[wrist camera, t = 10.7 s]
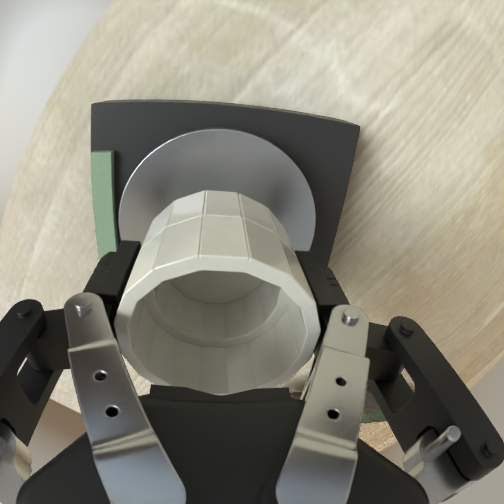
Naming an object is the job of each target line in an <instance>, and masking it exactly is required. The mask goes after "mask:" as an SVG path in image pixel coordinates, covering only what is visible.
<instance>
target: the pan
mask: <svg viewBox="0 0 504 504" xmlns="http://www.w3.org/2000/svg"><path fill="white" fill-rule="evenodd" d="M204 190H205V191H207V190H210V191H225V192H237V193H238V194H242V195H245V196H247V197H249V198H251V199H253V200H255V201H257V202H259V203H261V204H263V205H265V206H266V207H267V208H269V210H270V211H271V212H272V213H273V214H274V216H275V217H276V218H277V219H278V220H279V222H280V223H281V224H282V225H283V226H284V228H285V230H286V233H287V235H288V237H289V240H290V242H291V244H292V247H293V249H294V251H295V250H298V251H309V249H310V247H311V244H312V240H313V237H314V231H315V220H316V213H315V205H314V200H313V196H312V193H311V190H310V187H309V185H308V183H307V181H306V179H305V177H304V175H303V174H302V172H301V171H300V169H299V168H298V167H297V165H296V164H295V163H294V162H293V161H292V160H291V158H290V157H289V156H288V155H287V154H286V153H285V152H283V151H282V150H281V149H280V148H279V147H278V146H276V145H275V144H273V143H271V142H270V141H268V140H267V139H265V138H263V137H261V136H258V135H256V134H254V133H251V132H248V131H244V130H241V129H236V128H229V127H207V128H199V129H194V130H191V131H187V132H184V133H181V134H179V135H177V136H174V137H172V138H170V139H168V140H167V141H165V142H163V143H162V144H160V145H159V146H158V147H156V148H155V149H154V150H153V151H151V152H150V153H149V154H148V155H147V156H146V157H145V158H144V159H143V161H142V162H141V163H140V164H139V165H138V166H137V167H136V169H135V170H134V172H133V173H132V175H131V176H130V178H129V180H128V182H127V184H126V186H125V189H124V191H123V195H122V198H121V201H120V208H119V230H120V237H121V240H131V241H140V242H141V247H142V244H143V242H144V240H145V237H146V235H147V232H148V230H149V228H150V225H151V223H152V221H153V220H154V218H155V217H157V216H158V215H159V214H160V213H161V212H162V211H163V210H164V209H165V208H167V207H168V206H169V205H170V204H171V203H172V202H173V201H176V200H177V199H180V198H183V197H186V196H189V195H192V194H195V193H198V192H201V191H204Z"/></svg>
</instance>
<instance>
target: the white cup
mask: <svg viewBox="0 0 504 504" xmlns="http://www.w3.org/2000/svg"><path fill="white" fill-rule="evenodd" d="M114 327H115V332H116V336H117V341H118V345H119V349H120V351H121V353H122V354H123V356H124V357H125V358H126V359H127V361H128V362H129V363H130V364H131V366H132V367H133V368H134V369H135V371H136V372H137V373H138V374H139V375H141V376H142V377H144V378H145V379H147V380H149V381H150V382H152V383H154V384H155V385H164V386H178V387H187V388H191V389H194V390H198V391H202V392H206V393H210V394H215V395H221V396H222V395H228V394H233V393H238V392H242V391H247V390H251V389H256V388H274V387H276V386H278V385H280V384H282V383H284V382H286V381H287V380H289V379H290V378H292V377H293V376H294V375H295V374H296V373H297V372H298V371H299V370H300V369H301V368H302V367H303V366H304V365H305V364H306V363H307V362H308V361H309V360H310V358H311V357H312V354H313V352H314V349H315V346H316V344H317V341H318V338H319V336H320V333H321V327H320V322H319V316H318V311H317V306H316V302H315V299H314V297H313V294H312V292H311V289H310V287H309V285H308V282H307V280H306V277H305V275H304V272H303V270H302V268H301V265H300V263H299V261H298V259H297V256H296V254H295V251H294V249H293V247H292V244H291V242H290V240H289V237H288V235H287V233H286V230H285V228H284V226H283V225H282V224H281V223H280V222H279V220H278V219H277V218H276V217H275V216H274V214H273V213H272V212H271V211H270V210H269V208H267V207H266V206H265V205H263V204H261V203H259V202H257V201H255V200H253V199H251V198H249V197H247V196H245V195H242V194H238V193H237V192H225V191H210V190H207V191H205V190H204V191H201V192H198V193H195V194H192V195H189V196H186V197H183V198H180V199H177V200H176V201H173V202H172V203H171V204H170V205H169V206H168V207H167V208H165V209H164V210H163V211H162V212H161V213H160V214H159V215H158V216H157V217H155V218H154V220H153V221H152V223H151V225H150V228H149V230H148V232H147V235H146V237H145V240H144V242H143V244H142V247H141V249H140V252H139V254H138V257H137V259H136V262H135V264H134V267H133V269H132V272H131V274H130V277H129V280H128V282H127V285H126V288H125V290H124V293H123V296H122V299H121V302H120V304H119V307H118V310H117V313H116V316H115V319H114Z"/></svg>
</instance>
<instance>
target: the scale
mask: <svg viewBox="0 0 504 504" xmlns="http://www.w3.org/2000/svg"><path fill="white" fill-rule="evenodd" d="M207 127H229V128H236V129H241V130H244V131H248V132H251V133H254V134H256V135H258V136H261V137H263V138H265V139H267V140H268V141H270V142H271V143H273V144H275V145H276V146H278V147H279V148H280V149H281V150H282V151H283V152H285V153H286V154H287V155H288V156H289V157H290V158H291V160H292V161H293V162H294V163H295V164H296V165H297V167H298V168H299V169H300V171H301V172H302V174H303V175H304V177H305V179H306V181H307V183H308V185H309V187H310V190H311V193H312V196H313V200H314V205H315V213H316V220H315V231H314V237H313V240H312V244H311V247H310V249H309V251H312V252H313V253H314V255H315V257H316V259H317V261H318V263H322V264H325V265H326V266H327V265H328V261H329V258H330V254H331V251H332V247H333V243H334V239H335V236H336V232H337V228H338V224H339V220H340V216H341V212H342V208H343V204H344V200H345V196H346V192H347V187H348V183H349V179H350V174H351V170H352V165H353V161H354V156H355V151H356V146H357V142H358V137H359V132H360V126H358V125H356V124H353V123H350V122H347V121H344V120H340V119H335V118H330V117H325V116H320V115H314V114H309V113H303V112H297V111H290V110H284V109H277V108H269V107H261V106H253V105H243V104H233V103H221V102H207V101H189V100H112V101H104V102H99V103H94V104H92V105H91V178H92V195H93V208H94V219H95V228H96V237H97V245H98V253H99V260H100V259H101V258H102V257H103V256H104V255H106V254H107V253H108V252H109V251H112V252H116V251H117V249H118V247H119V245H120V243H121V241H122V240H121V237H120V230H119V208H120V201H121V198H122V195H123V191H124V189H125V186H126V184H127V182H128V180H129V178H130V176H131V175H132V173H133V172H134V170H135V169H136V167H137V166H138V165H139V164H140V163H141V162H142V161H143V159H144V158H145V157H146V156H147V155H148V154H149V153H150V152H151V151H153V150H154V149H155V148H156V147H158V146H159V145H160V144H162V143H163V142H165V141H167V140H168V139H170V138H172V137H174V136H177V135H179V134H181V133H184V132H187V131H191V130H194V129H199V128H207Z"/></svg>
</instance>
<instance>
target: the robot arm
mask: <svg viewBox="0 0 504 504" xmlns="http://www.w3.org/2000/svg"><path fill="white" fill-rule="evenodd" d="M140 249H141V242H140V241H131V240H122V241H121V243H120V245H119V247H118V249H117V251H116V252H112V251H109V252H108V253H107V254H106V255H104V256H103V257H102V258H101V259H100V261H99V263H98V264H97V267H96V268H95V270H94V273H93V274H92V275H91V277H90V279H89V281H88V283H87V285H86V287H85V289H84V291H83V293H79V294H76V295H74V296H72V297H71V298H69V299H68V300H67V302H66V303H65V305H64V308H63V309H57V310H49V311H44V310H43V307H42V305H41V303H40V302H39V301H37V300H33V299H27V300H23V301H20V302H18V303H16V304H15V305H14V306H13V307H12V308H11V309H10V310H9V311H8V313H7V314H6V315H5V316H4V318H3V319H2V320H1V321H0V504H438V503H439V502H443V501H446V500H448V499H449V498H451V497H453V496H454V495H456V494H458V493H459V492H461V491H463V490H464V489H466V488H467V487H469V486H470V485H472V484H474V483H475V482H477V481H478V480H479V479H481V478H483V477H484V476H485V475H487V474H488V473H490V472H491V471H492V470H494V469H495V468H496V467H498V466H499V465H500V464H501V463H502V462H503V460H504V442H503V440H502V438H501V437H500V435H499V434H498V432H497V431H496V429H495V427H494V426H493V425H492V423H491V421H490V420H489V418H488V417H487V415H486V414H485V412H484V411H483V410H482V408H481V407H480V405H479V404H478V402H477V401H476V400H475V398H474V397H473V395H472V394H471V392H470V391H469V390H468V388H467V387H466V385H465V384H464V383H463V381H462V380H461V379H460V377H459V376H458V374H457V373H456V372H455V370H454V369H453V368H452V366H451V365H450V364H449V362H448V361H447V360H446V359H445V357H444V356H443V355H442V353H441V352H440V351H439V349H438V348H437V347H436V346H435V344H434V343H433V342H432V341H431V339H430V338H429V337H428V335H427V334H426V333H425V332H424V330H423V329H422V328H421V327H420V326H419V325H418V324H417V323H416V322H415V321H413V320H412V319H410V318H407V317H403V316H397V317H394V318H393V319H391V321H390V323H389V325H388V326H385V325H380V324H375V323H371V322H369V319H368V316H367V315H366V314H365V313H364V312H363V311H362V310H361V309H359V308H357V307H355V306H352V305H350V304H349V302H348V300H347V298H346V296H345V294H344V292H343V290H342V288H341V286H339V283H338V281H337V280H336V277H335V275H334V273H333V272H332V270H331V269H329V268H328V267H327V266H326V265H325V264H322V263H318V261H317V259H316V257H315V255H314V253H313V252H312V251H298V250H295V254H296V256H297V259H298V261H299V263H300V265H301V268H302V270H303V272H304V275H305V277H306V280H307V282H308V285H309V287H310V289H311V292H312V294H313V297H314V299H315V302H316V306H317V311H318V316H319V322H320V327H321V333H320V336H319V338H318V341H317V344H316V346H315V349H314V356H315V357H314V360H313V363H312V365H311V368H310V371H309V374H308V377H307V380H306V383H305V386H304V389H303V392H302V395H301V398H300V399H297V398H293V397H291V396H290V392H289V387H288V388H256V389H251V390H247V391H242V392H238V393H233V394H228V395H222V396H221V395H215V394H210V393H206V392H202V391H198V390H194V389H191V388H187V387H178V386H164V385H152V384H151V388H150V394H147V395H142V396H138V395H137V393H136V390H135V388H134V385H133V383H132V380H131V378H130V375H129V373H128V370H127V368H126V365H125V362H124V360H123V357H122V354H121V352H120V349H119V346H118V341H117V336H116V332H115V327H114V319H115V316H116V313H117V310H118V307H119V304H120V302H121V299H122V296H123V293H124V290H125V288H126V285H127V282H128V280H129V277H130V274H131V272H132V269H133V267H134V264H135V262H136V259H137V257H138V254H139V252H140ZM26 357H27V360H26V362H25V364H24V365H23V367H22V369H21V370H20V372H19V374H18V375H17V372H18V369H19V368H20V366H21V364H22V363H23V361H24V359H25V358H26ZM404 368H405V369H406V371H407V372H408V374H409V375H410V377H411V378H412V380H413V381H414V384H415V391H414V393H413V391H412V390H411V388H410V387H409V385H408V384H407V382H406V380H405V379H404V377H403V376H402V374H401V372H402V371H403V369H404ZM63 369H71V372H72V377H73V382H74V386H75V390H76V394H77V398H78V402H79V406H80V410H81V414H82V417H83V420H84V424H85V427H86V432H85V433H84V434H83V435H81V436H80V437H79V438H78V439H77V440H75V441H74V442H73V443H72V444H71V445H69V446H68V447H67V448H66V449H64V450H63V451H62V452H61V453H59V454H58V455H57V456H56V457H54V458H53V459H52V460H51V461H49V462H48V463H47V464H46V465H44V466H43V467H42V468H41V469H39V470H38V471H37V472H36V473H34V474H33V475H32V476H30V474H31V472H32V468H31V463H32V459H31V454H30V452H29V449H28V448H27V447H28V444H29V442H30V440H31V437H32V435H33V433H34V430H35V428H36V426H37V424H38V421H39V419H40V417H41V415H42V412H43V410H44V408H45V406H46V404H47V402H48V399H49V398H50V396H51V393H52V391H53V389H54V387H55V385H56V383H57V381H58V379H59V377H60V375H61V373H62V372H63ZM367 386H368V388H369V389H370V391H371V393H372V395H373V396H374V398H375V400H376V402H377V404H378V405H379V407H380V409H381V411H382V413H383V415H384V416H385V418H386V420H387V422H388V424H389V425H390V427H391V429H392V431H393V433H394V435H395V437H396V438H397V440H398V442H399V444H400V446H401V448H402V450H403V451H404V453H405V454H404V457H403V465H404V466H403V468H402V469H401V468H399V467H398V466H397V465H395V464H394V463H392V462H391V461H389V460H388V459H387V458H385V457H384V456H383V455H381V454H380V453H378V452H377V451H376V450H374V449H373V448H372V447H370V446H369V445H368V444H366V443H365V442H364V441H362V440H361V439H360V438H358V435H359V430H360V425H361V419H362V414H363V408H364V401H365V395H366V388H367Z"/></svg>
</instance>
